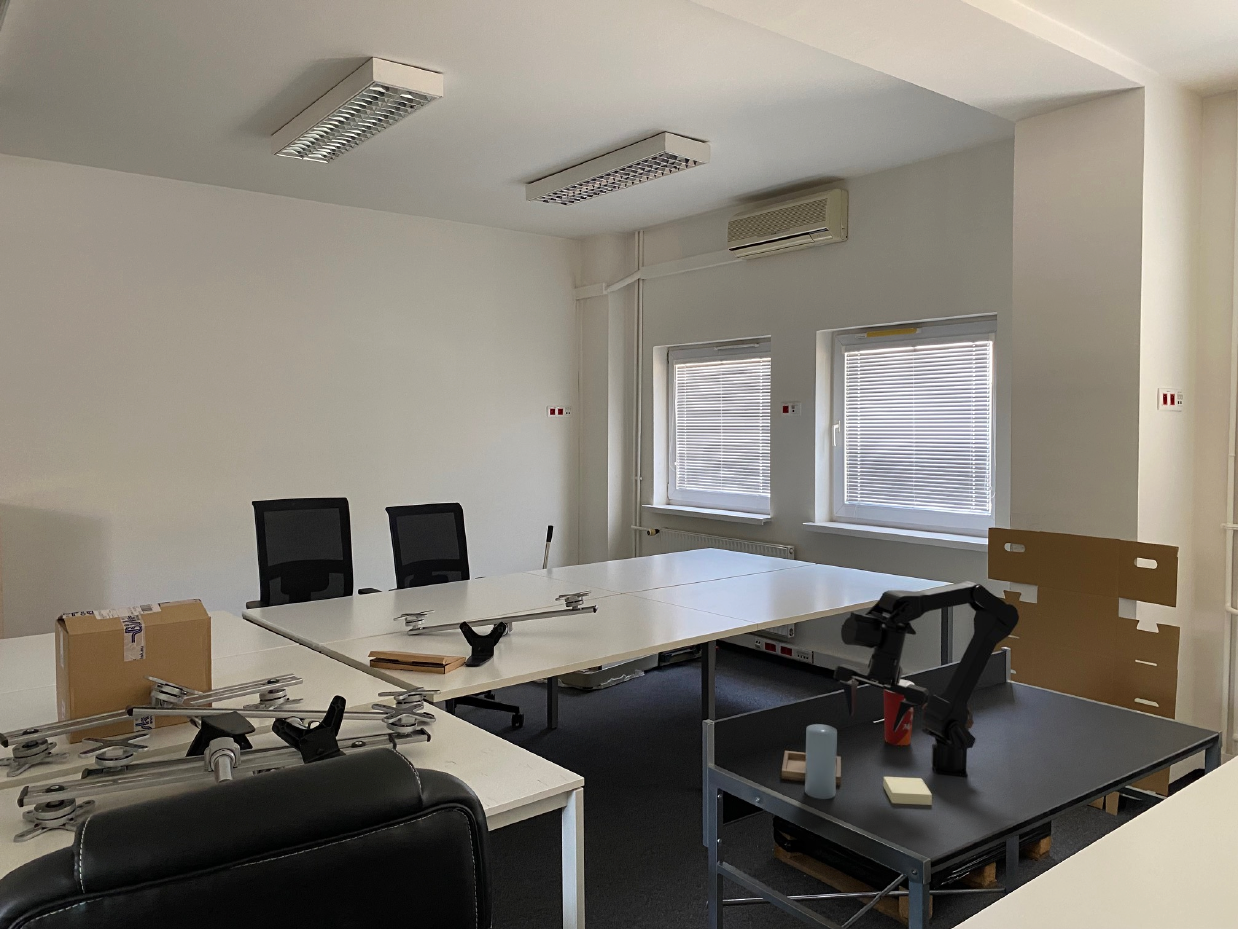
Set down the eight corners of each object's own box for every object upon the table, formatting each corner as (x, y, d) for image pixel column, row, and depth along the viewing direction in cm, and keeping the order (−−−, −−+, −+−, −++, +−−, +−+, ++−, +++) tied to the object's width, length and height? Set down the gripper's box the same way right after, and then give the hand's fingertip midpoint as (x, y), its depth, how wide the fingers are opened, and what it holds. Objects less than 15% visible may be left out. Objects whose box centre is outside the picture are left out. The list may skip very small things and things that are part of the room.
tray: (840, 764, 188) (840, 756, 188) (840, 785, 178) (840, 777, 177) (784, 758, 191) (785, 750, 191) (781, 778, 181) (781, 770, 180)
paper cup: (916, 749, 198) (918, 689, 197) (882, 746, 199) (884, 686, 198) (912, 736, 205) (914, 679, 205) (879, 734, 207) (880, 676, 206)
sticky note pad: (921, 790, 177) (921, 778, 177) (931, 807, 169) (931, 794, 169) (883, 788, 177) (883, 776, 177) (892, 805, 170) (892, 792, 170)
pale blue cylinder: (835, 788, 176) (837, 726, 176) (835, 800, 171) (836, 736, 170) (805, 784, 178) (807, 723, 177) (804, 797, 172) (805, 733, 171)
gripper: (940, 661, 183) (924, 732, 183) (854, 636, 192) (839, 704, 192) (930, 666, 173) (914, 741, 173) (840, 639, 183) (825, 711, 183)
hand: (872, 724), depth 180 cm, fingers open, 9 cm apart
